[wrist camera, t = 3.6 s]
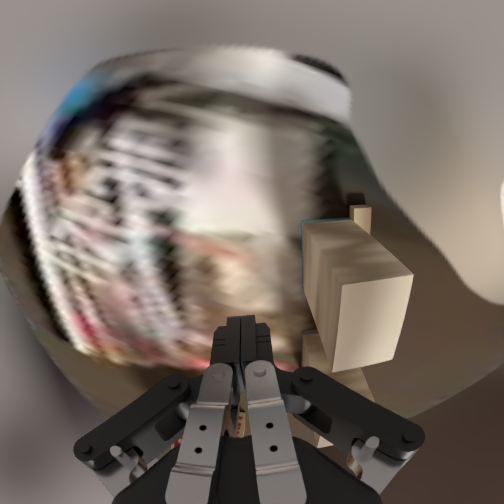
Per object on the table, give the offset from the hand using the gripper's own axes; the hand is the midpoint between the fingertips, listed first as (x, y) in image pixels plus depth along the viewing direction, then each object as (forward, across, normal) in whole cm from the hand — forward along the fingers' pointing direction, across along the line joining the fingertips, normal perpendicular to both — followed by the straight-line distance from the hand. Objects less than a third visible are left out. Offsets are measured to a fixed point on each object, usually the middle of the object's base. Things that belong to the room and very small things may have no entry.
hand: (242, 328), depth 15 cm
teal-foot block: (+8, -7, 0) cm, 11 cm away
